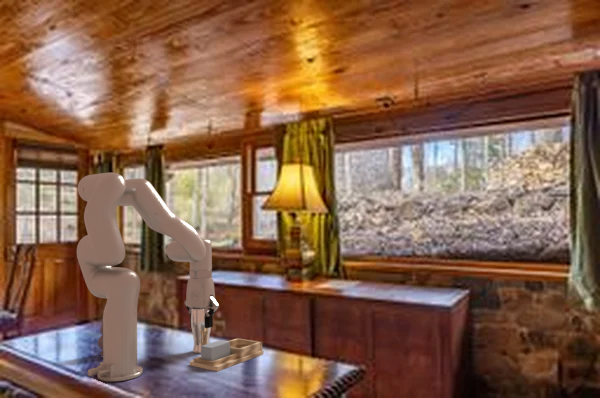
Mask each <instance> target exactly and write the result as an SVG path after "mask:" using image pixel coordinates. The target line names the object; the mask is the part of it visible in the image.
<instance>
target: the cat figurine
mask: <svg viewBox="0 0 600 398" xmlns="http://www.w3.org/2000/svg"><path fill="white" fill-rule="evenodd" d="M100 320H101V325H100V328H99V332H100V334H101V336H100V337H99V338H98V341H97V345H98V347H99V348H100V349H101V351H100V352H99V356H100V355H101V356H103V318H102V319H100Z"/></svg>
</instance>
